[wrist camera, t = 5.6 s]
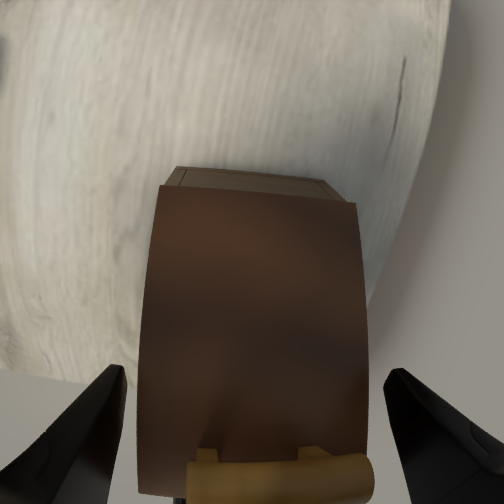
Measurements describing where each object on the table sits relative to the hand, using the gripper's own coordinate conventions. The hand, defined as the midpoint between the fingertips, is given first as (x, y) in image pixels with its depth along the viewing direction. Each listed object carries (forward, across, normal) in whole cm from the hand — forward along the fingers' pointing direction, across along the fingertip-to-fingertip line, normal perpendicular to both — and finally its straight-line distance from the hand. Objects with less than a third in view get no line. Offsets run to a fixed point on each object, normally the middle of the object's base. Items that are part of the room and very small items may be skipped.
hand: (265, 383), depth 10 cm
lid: (+2, 0, 0) cm, 2 cm away
